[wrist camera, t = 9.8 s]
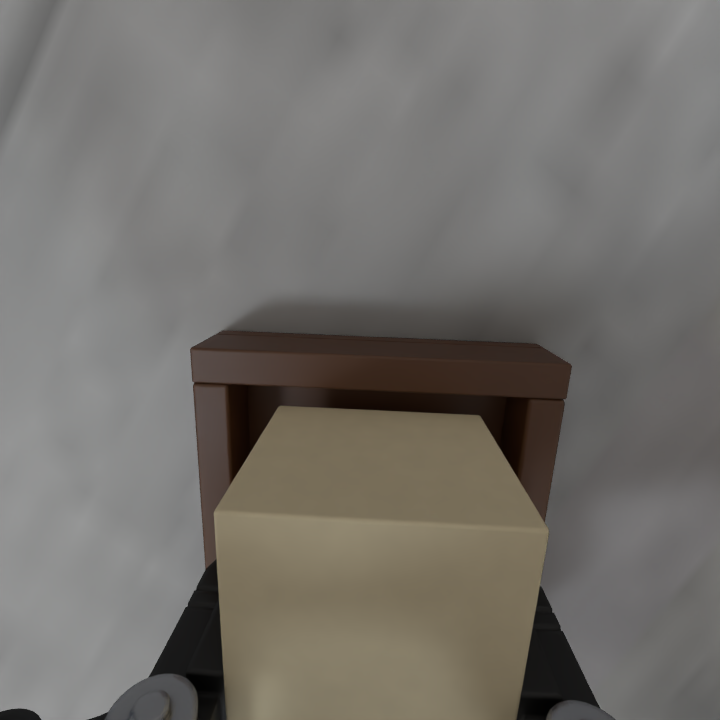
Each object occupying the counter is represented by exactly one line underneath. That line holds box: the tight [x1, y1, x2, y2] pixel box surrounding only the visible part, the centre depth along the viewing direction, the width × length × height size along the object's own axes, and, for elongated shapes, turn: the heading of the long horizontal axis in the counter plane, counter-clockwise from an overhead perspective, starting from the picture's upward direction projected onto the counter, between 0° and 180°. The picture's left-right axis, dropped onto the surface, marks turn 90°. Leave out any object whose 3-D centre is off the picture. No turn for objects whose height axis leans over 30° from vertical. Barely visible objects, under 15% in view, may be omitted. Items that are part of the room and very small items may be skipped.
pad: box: [214, 406, 549, 720], centre depth 9 cm, size 8×4×4 cm, turn 178°
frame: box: [190, 331, 572, 568], centre depth 13 cm, size 20×8×2 cm, turn 178°
